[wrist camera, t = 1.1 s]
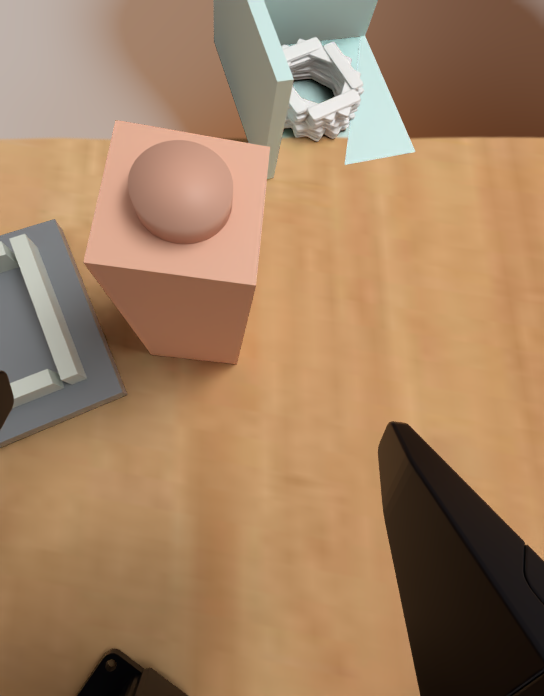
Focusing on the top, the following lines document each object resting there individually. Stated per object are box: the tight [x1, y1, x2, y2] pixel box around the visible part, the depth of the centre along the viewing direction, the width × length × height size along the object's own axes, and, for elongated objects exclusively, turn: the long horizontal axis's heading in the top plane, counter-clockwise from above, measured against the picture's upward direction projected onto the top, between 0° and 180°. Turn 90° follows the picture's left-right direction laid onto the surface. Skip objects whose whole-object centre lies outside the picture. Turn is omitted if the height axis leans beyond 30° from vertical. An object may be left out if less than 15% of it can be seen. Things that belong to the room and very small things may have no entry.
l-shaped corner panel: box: [214, 0, 415, 179], centre depth 25 cm, size 12×12×8 cm
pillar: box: [84, 120, 270, 364], centre depth 18 cm, size 5×5×13 cm
